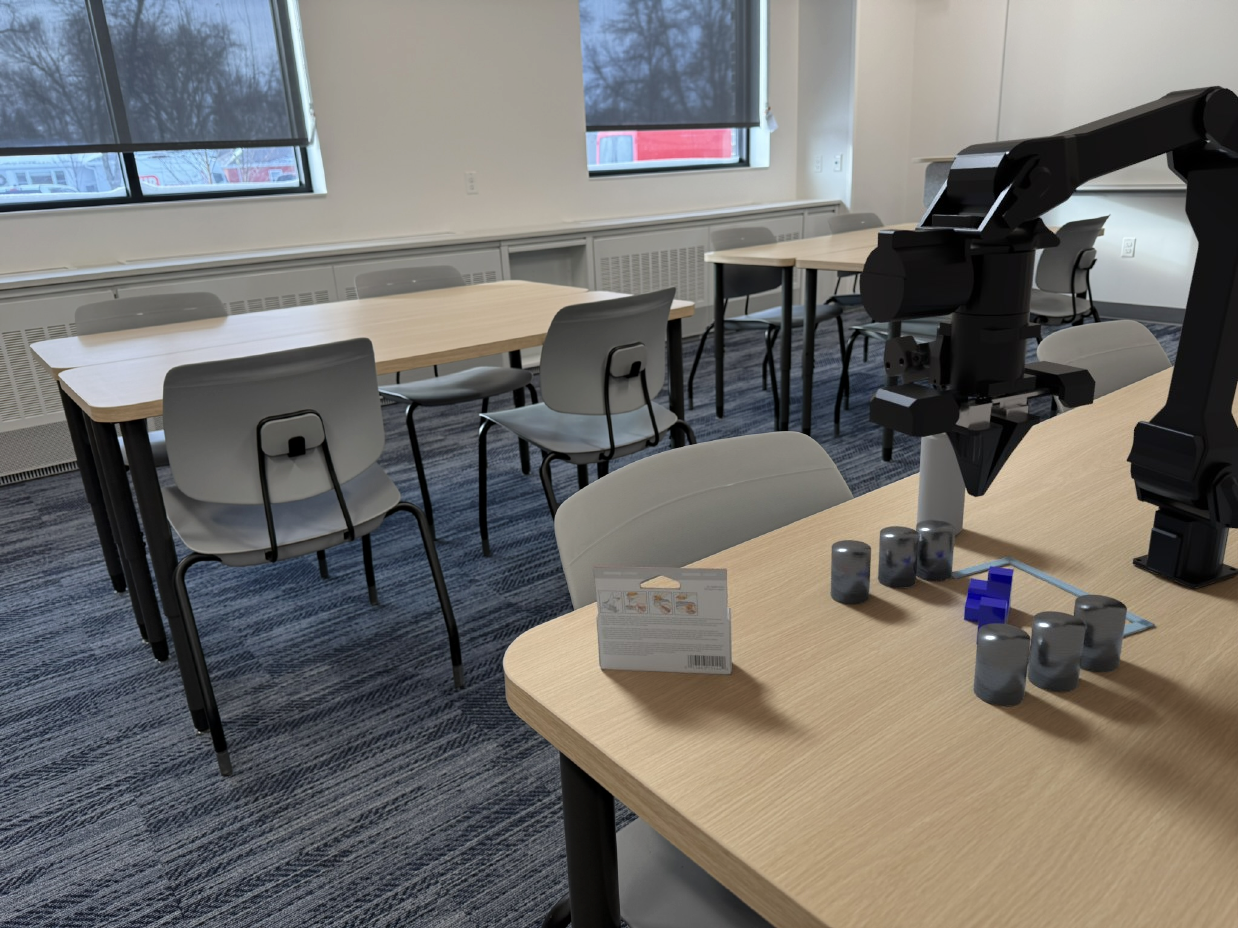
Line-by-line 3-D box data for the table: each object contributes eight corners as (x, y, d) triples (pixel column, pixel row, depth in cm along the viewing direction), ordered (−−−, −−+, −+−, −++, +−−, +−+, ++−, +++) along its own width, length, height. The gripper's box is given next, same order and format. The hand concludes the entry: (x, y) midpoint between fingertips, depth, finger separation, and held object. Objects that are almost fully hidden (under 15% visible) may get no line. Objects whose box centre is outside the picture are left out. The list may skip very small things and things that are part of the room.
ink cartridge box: (604, 655, 74) (597, 553, 71) (732, 661, 72) (730, 556, 69) (599, 671, 72) (591, 566, 69) (731, 677, 70) (729, 569, 67)
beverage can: (965, 540, 93) (973, 434, 89) (919, 538, 94) (925, 433, 90) (958, 522, 97) (965, 421, 93) (913, 522, 98) (919, 421, 94)
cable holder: (969, 602, 80) (972, 563, 79) (1010, 609, 78) (1013, 569, 77) (957, 643, 73) (960, 601, 72) (1001, 651, 72) (1005, 608, 71)
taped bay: (1009, 558, 88) (1009, 556, 88) (1154, 626, 74) (1154, 623, 74) (947, 574, 85) (947, 572, 85) (1086, 648, 71) (1086, 646, 71)
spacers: (930, 560, 88) (933, 516, 87) (1135, 668, 68) (1143, 611, 66) (820, 589, 84) (820, 542, 82) (1003, 714, 63) (1009, 655, 62)
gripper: (1001, 290, 78) (988, 452, 83) (830, 311, 71) (826, 486, 76) (1110, 302, 68) (1087, 486, 73) (923, 328, 62) (911, 528, 66)
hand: (975, 495), depth 72 cm, fingers closed
